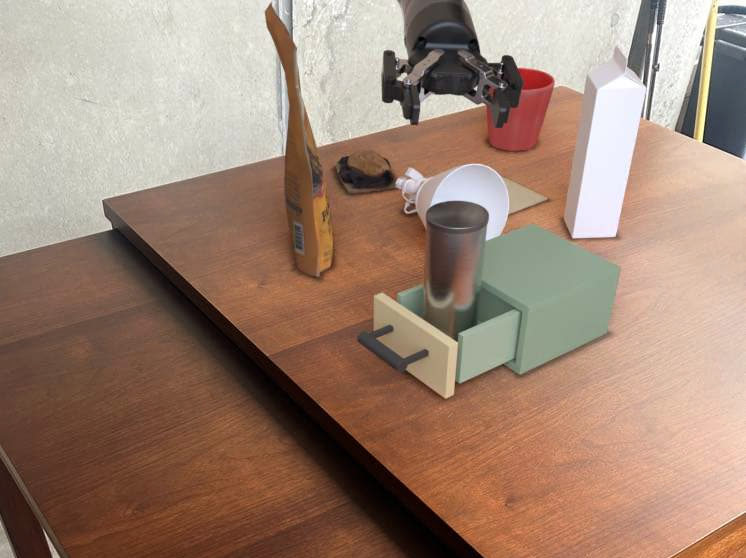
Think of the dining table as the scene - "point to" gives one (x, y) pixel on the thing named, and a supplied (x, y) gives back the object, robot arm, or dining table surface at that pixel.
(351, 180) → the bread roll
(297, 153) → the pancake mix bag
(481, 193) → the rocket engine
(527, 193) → the mat
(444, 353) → the drawer
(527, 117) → the flower pot
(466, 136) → the dining table surface
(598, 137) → the milk
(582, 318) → the cabinet
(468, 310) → the silver tall cylinder
